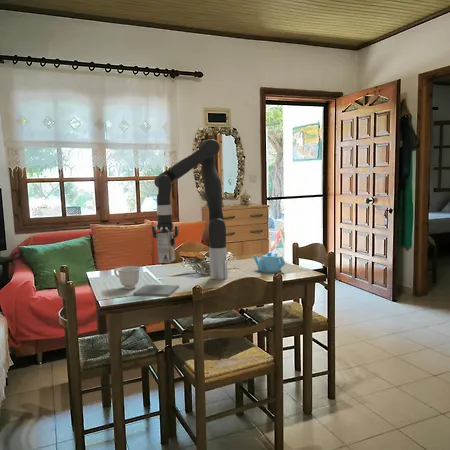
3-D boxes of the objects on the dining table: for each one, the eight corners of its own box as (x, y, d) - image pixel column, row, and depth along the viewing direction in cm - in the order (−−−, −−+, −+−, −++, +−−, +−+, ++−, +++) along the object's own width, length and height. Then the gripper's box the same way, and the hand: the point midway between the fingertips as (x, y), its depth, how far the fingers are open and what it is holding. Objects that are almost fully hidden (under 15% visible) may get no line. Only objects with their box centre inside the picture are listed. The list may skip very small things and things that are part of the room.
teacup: (122, 283, 229) (121, 265, 228) (146, 285, 224) (145, 266, 223) (108, 289, 218) (107, 270, 217) (133, 291, 213) (132, 271, 211)
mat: (179, 287, 218) (178, 285, 218) (169, 296, 203) (168, 294, 203) (145, 286, 222) (145, 284, 222) (133, 295, 206) (133, 293, 206)
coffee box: (164, 259, 229) (162, 229, 227) (175, 259, 228) (174, 229, 226) (158, 263, 220) (156, 232, 218) (170, 263, 219) (168, 231, 217)
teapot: (260, 274, 242) (260, 255, 241) (252, 268, 257) (252, 251, 256) (286, 272, 246) (286, 254, 245) (276, 267, 260) (276, 249, 259)
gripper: (179, 212, 223) (181, 244, 225) (153, 213, 226) (155, 244, 228) (175, 214, 216) (177, 246, 218) (148, 214, 219) (150, 246, 221)
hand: (166, 245), depth 223 cm, fingers closed on coffee box, 6 cm apart
